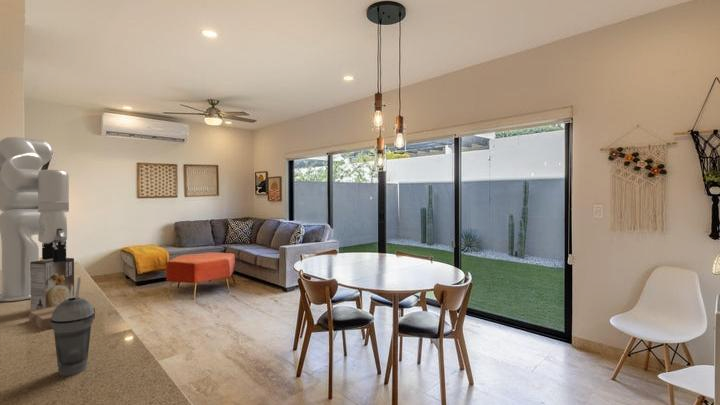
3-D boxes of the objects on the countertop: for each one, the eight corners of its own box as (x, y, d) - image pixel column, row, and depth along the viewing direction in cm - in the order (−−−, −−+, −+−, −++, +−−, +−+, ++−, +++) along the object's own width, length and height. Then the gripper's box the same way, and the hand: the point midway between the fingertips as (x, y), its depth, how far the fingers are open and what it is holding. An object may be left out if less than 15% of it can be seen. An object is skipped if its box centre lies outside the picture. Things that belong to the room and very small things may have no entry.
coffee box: (59, 303, 119) (60, 256, 119) (74, 305, 118) (75, 257, 117) (29, 312, 110) (29, 261, 110) (45, 314, 109) (45, 262, 108)
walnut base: (29, 321, 102) (29, 311, 102) (78, 310, 112) (79, 301, 112) (43, 330, 96) (43, 319, 96) (94, 318, 106) (94, 308, 106)
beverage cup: (67, 362, 78) (68, 273, 78) (101, 362, 78) (102, 273, 78) (40, 379, 71) (41, 281, 70) (78, 378, 71) (79, 281, 71)
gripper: (29, 207, 115) (29, 259, 115) (48, 208, 105) (48, 264, 105) (58, 207, 121) (58, 256, 121) (78, 207, 112) (78, 261, 112)
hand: (54, 260), depth 113 cm, fingers open, 9 cm apart
